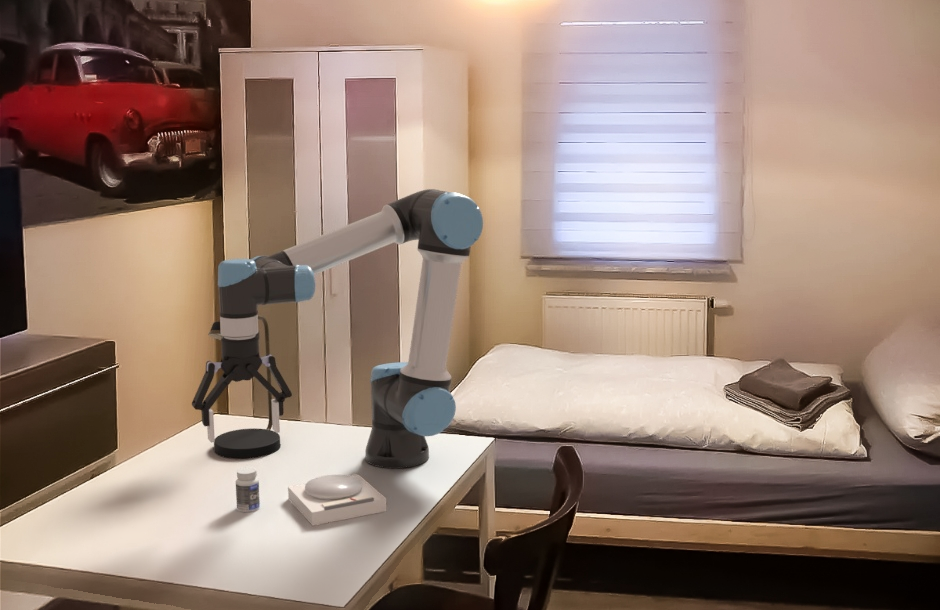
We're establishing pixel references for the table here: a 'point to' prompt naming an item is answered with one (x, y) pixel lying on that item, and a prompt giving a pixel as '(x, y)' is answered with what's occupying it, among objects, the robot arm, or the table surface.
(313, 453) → the table surface
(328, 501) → the scale
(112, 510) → the table surface
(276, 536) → the table surface
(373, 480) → the table surface
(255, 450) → the lamp
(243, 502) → the pill bottle
